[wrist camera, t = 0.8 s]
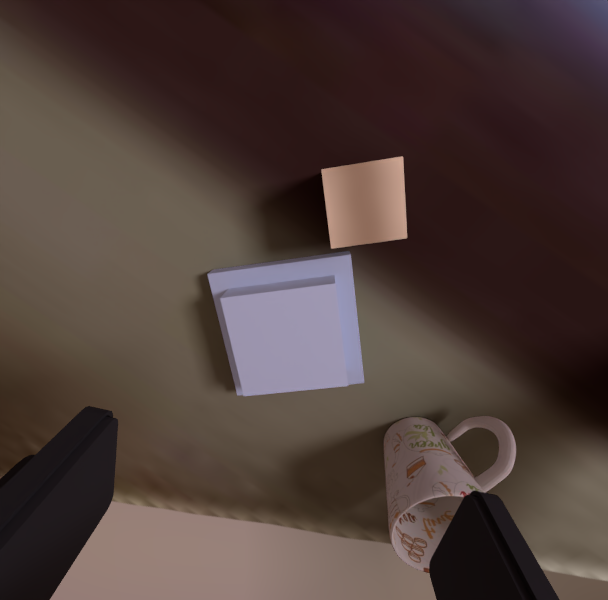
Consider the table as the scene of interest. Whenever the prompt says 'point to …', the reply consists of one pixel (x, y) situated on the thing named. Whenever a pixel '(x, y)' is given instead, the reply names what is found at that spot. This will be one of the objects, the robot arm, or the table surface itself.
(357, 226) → the beech block
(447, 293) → the table surface
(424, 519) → the mug
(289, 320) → the plinth
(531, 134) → the table surface
